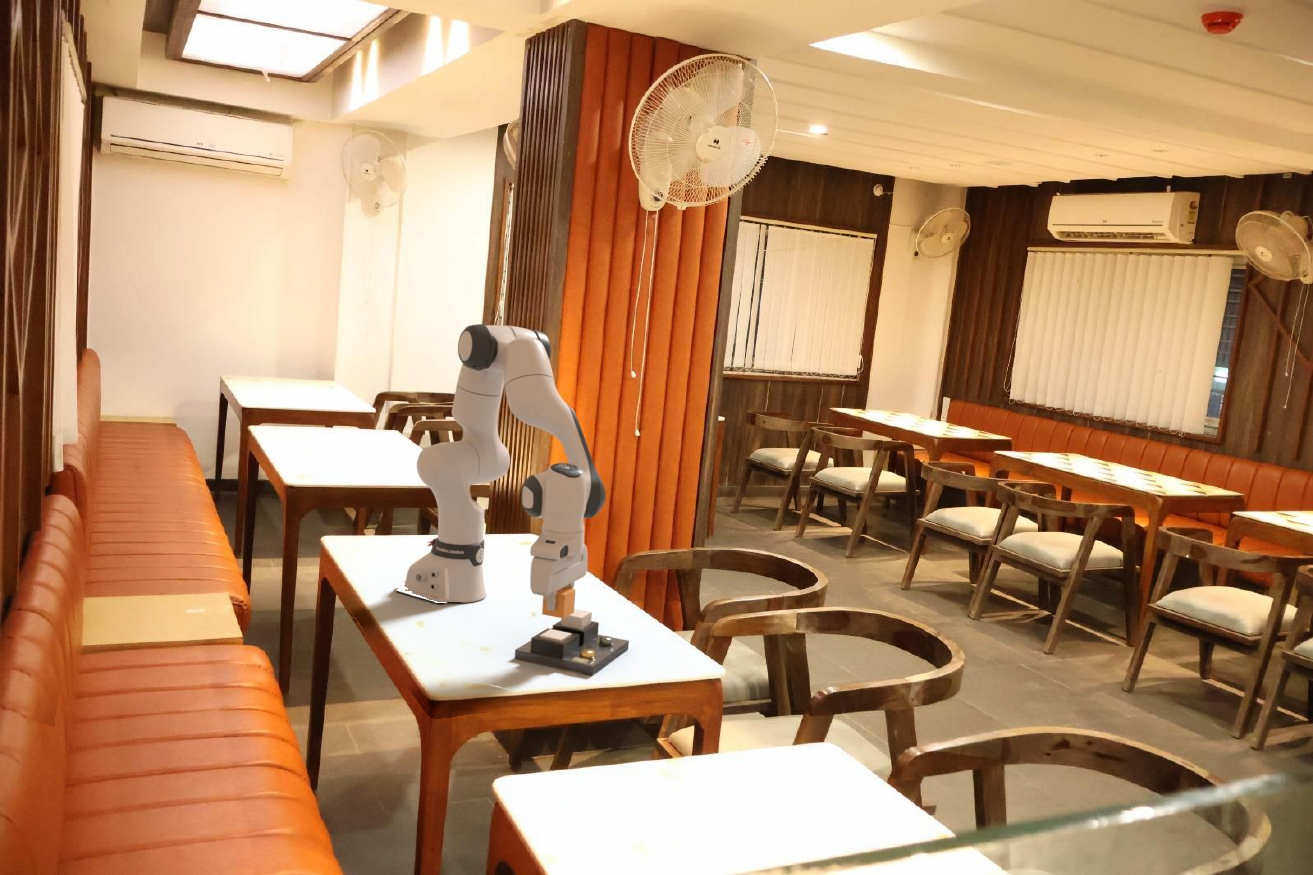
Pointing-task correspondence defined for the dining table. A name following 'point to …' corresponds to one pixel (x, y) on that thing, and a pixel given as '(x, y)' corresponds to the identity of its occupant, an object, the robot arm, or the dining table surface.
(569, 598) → the block
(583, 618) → the block
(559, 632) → the block
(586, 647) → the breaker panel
